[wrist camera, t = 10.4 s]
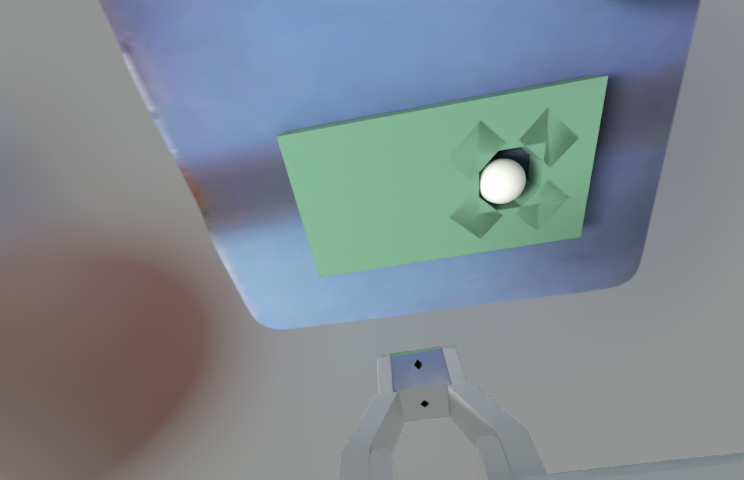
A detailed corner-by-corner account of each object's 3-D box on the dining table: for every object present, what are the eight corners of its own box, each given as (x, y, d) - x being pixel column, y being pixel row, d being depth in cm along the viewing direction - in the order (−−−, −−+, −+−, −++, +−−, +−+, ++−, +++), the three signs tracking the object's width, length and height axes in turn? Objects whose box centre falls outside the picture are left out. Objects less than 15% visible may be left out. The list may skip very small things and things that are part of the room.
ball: (467, 161, 28) (497, 171, 24) (504, 149, 29) (538, 157, 25) (469, 201, 30) (497, 215, 26) (503, 189, 31) (535, 201, 27)
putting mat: (283, 131, 27) (276, 136, 25) (587, 75, 25) (608, 75, 23) (322, 263, 34) (319, 277, 31) (565, 225, 32) (580, 237, 30)
